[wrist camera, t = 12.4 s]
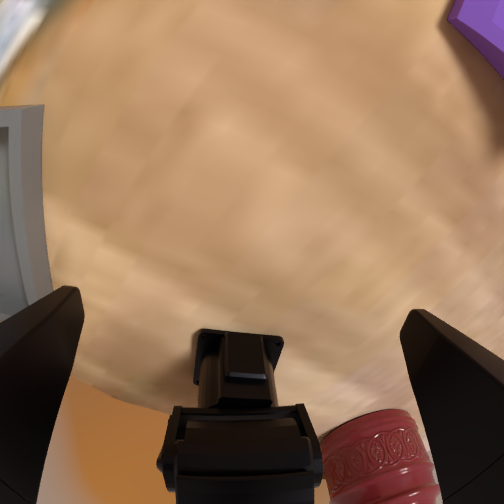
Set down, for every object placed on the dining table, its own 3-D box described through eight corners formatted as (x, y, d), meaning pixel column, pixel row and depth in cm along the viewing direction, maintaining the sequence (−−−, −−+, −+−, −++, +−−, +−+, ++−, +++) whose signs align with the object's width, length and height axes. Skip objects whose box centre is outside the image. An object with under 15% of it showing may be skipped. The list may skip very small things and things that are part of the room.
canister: (429, 401, 33) (479, 514, 17) (382, 451, 39) (412, 547, 23) (342, 409, 31) (383, 556, 15) (303, 459, 36) (323, 572, 21)
